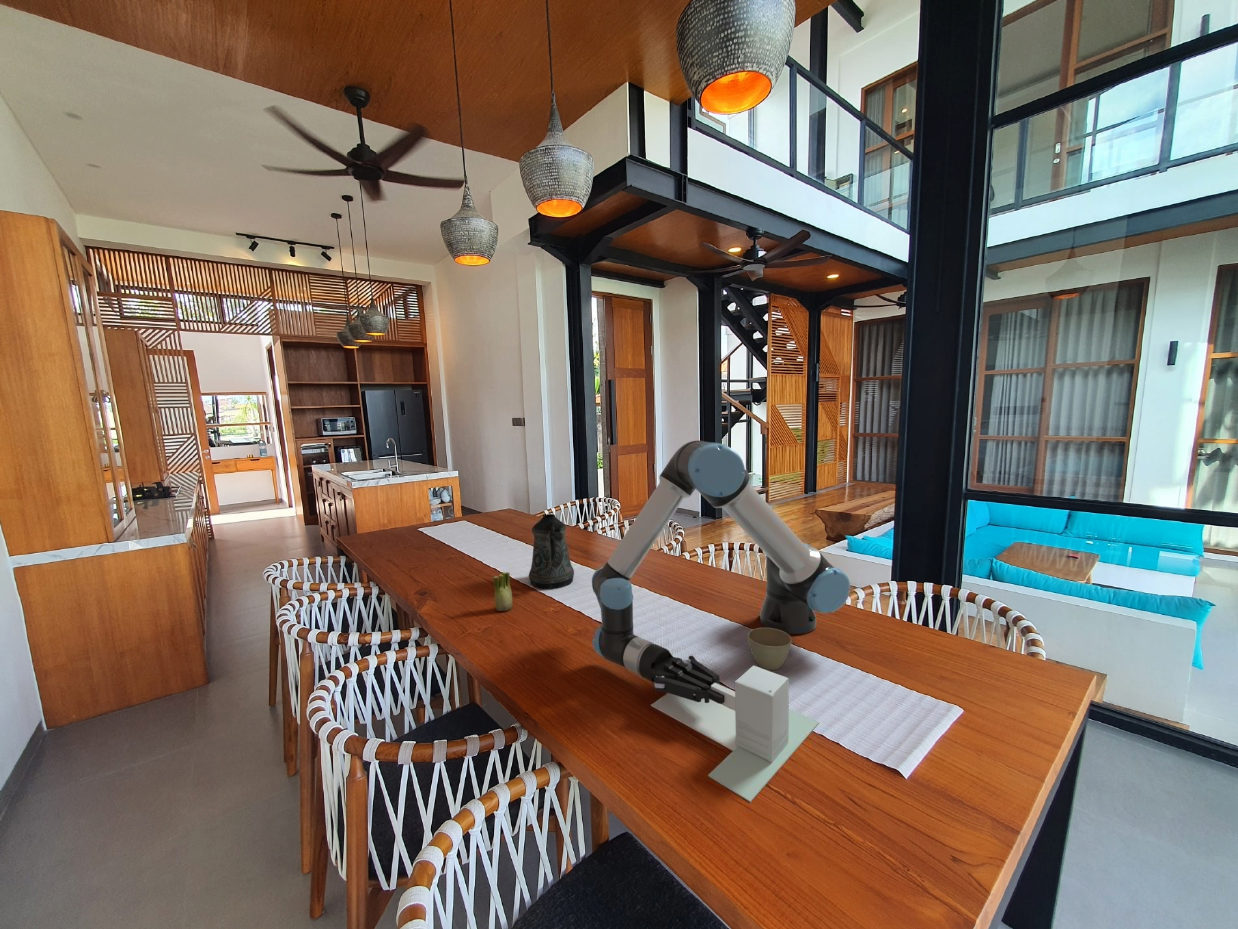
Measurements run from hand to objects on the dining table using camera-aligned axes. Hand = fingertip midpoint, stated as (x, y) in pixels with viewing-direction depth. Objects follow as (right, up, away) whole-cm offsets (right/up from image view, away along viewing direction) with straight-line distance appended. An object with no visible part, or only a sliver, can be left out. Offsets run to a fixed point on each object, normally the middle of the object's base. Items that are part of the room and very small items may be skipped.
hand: (741, 704), depth 90 cm
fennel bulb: (-60, -1, +63) cm, 87 cm away
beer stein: (-47, +2, +85) cm, 97 cm away
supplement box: (+3, -7, -2) cm, 8 cm away
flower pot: (+13, -3, +25) cm, 29 cm away
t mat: (-3, -6, +5) cm, 8 cm away
